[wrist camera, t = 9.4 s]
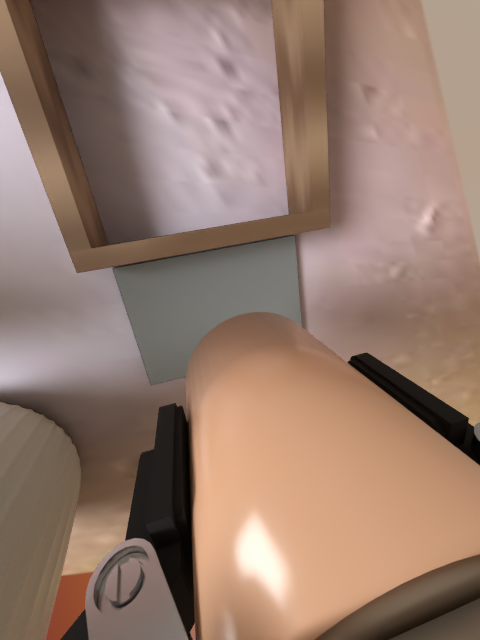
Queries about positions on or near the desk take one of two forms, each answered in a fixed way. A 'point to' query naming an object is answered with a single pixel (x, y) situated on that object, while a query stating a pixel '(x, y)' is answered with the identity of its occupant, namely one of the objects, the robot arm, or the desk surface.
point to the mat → (204, 297)
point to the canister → (33, 518)
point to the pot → (318, 495)
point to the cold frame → (94, 252)
